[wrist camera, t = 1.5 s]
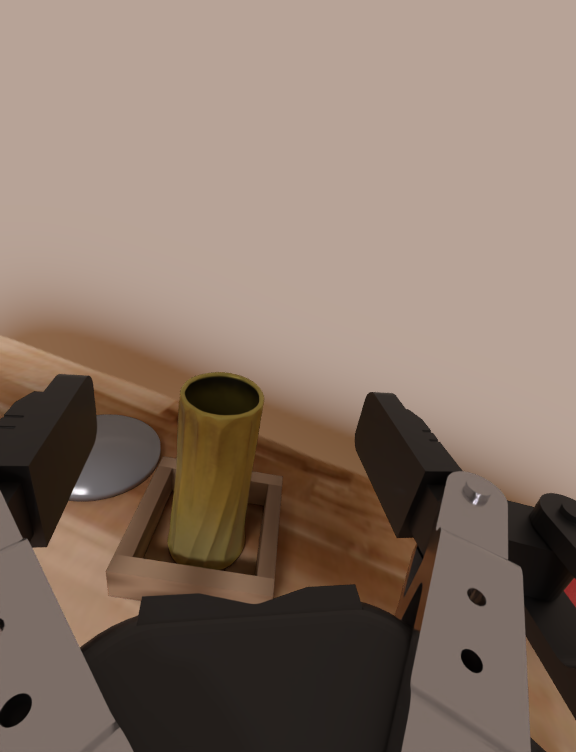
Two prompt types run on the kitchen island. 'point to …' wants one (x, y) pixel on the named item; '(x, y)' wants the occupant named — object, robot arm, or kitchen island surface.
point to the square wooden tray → (162, 578)
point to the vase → (213, 468)
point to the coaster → (117, 458)
